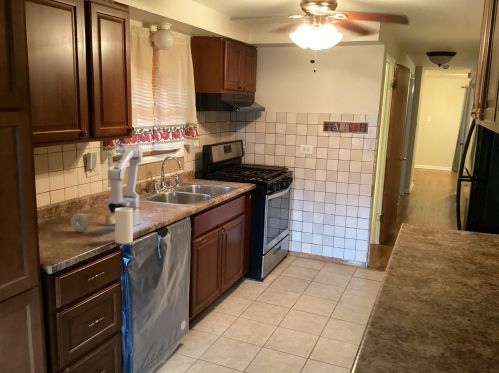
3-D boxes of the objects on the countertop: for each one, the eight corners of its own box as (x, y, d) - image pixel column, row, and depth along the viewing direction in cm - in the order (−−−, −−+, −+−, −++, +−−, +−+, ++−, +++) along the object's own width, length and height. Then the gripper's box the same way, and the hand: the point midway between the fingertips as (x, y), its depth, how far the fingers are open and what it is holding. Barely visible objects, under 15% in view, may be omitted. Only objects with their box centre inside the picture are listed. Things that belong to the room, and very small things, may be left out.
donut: (90, 232, 232) (90, 213, 231) (86, 233, 229) (86, 214, 227) (73, 230, 234) (73, 211, 233) (69, 231, 231) (69, 212, 230)
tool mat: (112, 225, 247) (112, 224, 247) (125, 227, 244) (125, 226, 244) (89, 232, 231) (89, 231, 231) (103, 235, 227) (103, 234, 227)
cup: (126, 238, 223) (125, 206, 221) (136, 241, 218) (136, 209, 216) (111, 241, 217) (111, 208, 215) (121, 244, 212) (121, 211, 210)
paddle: (123, 218, 238) (123, 209, 238) (127, 219, 238) (127, 210, 237) (105, 224, 226) (105, 214, 225) (109, 224, 225) (109, 215, 224)
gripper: (99, 192, 228) (100, 218, 230) (123, 194, 223) (123, 221, 225) (109, 190, 235) (109, 215, 237) (131, 192, 229) (132, 218, 232)
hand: (116, 218), depth 231 cm, fingers closed on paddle, 2 cm apart
